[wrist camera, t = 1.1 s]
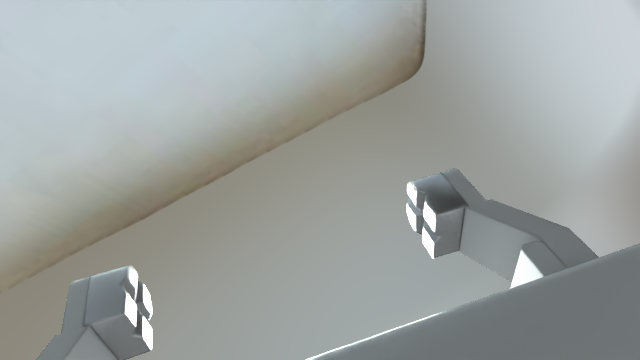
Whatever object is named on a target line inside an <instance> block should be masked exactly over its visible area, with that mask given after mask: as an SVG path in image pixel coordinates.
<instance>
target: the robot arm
mask: <svg viewBox="0 0 640 360" xmlns="http://www.w3.org/2000/svg"><path fill="white" fill-rule="evenodd" d="M407 193H408V194H409V196H410V197H411V198H410V199H409V200H408V202H407V213H408V217H409V220H410V223H411V225H412V227H413V228H414V230H415V231H416V232H417V233H419V234H422V235H423V244H424V245H425V247H426V248H427V250H428V251H429V253H430V254H431V256H432V257H433V258H436V257H439V256H442V255H445V254H449V253H452V252H456V251H459V250H460V252H461V253H463V254H464V255H466V256H468V257H469V258H471V259H473V260H474V261H476V262H478V263H479V264H481V265H483V266H485V267H486V268H488V269H490V270H491V271H493V272H495V273H497V274H498V275H500V276H502V277H503V278H505V279H507V280H509V281H510V282H512V285H511V288H510V289H507V290H505V291H502V292H499V293H496V294H493V295H490V296H487V297H484V298H481V299H479V300H476V301H473V302H470V303H467V304H464V305H461V306H458V307H456V308H453V309H450V310H447V311H444V312H441V313H438V314H435V315H433V316H430V317H427V318H424V319H421V320H418V321H415V322H412V323H410V324H407V325H404V326H401V327H398V328H395V329H392V330H390V331H387V332H384V333H381V334H378V335H375V336H372V337H370V338H367V339H364V340H361V341H358V342H355V343H353V344H350V345H347V346H344V347H341V348H339V349H335V350H333V351H329V352H327V353H324V354H321V355H318V356H315V357H312V358H309V359H307V360H640V244H637V245H634V246H631V247H628V248H625V249H622V250H619V251H617V252H614V253H611V254H608V255H605V256H602V257H598V256H597V255H596V254H595V253H594V252H593V251H592V250H591V249H590V248H589V247H588V246H587V245H586V244H585V243H583V241H582V240H581V239H579V238H578V237H577V236H576V235H575V234H574V233H573V232H572V231H571V230H570V229H569V228H567V227H564V226H561V225H559V224H556V223H553V222H551V221H548V220H545V219H543V218H539V217H537V216H534V215H532V214H529V213H526V212H524V211H521V210H518V209H515V208H513V207H510V206H508V205H505V204H502V203H499V202H497V201H494V200H487V201H486V199H485V198H484V197H483V196H482V195H481V194H480V193H479V192H478V191H477V190H476V189H475V187H474V186H473V185H472V184H471V183H470V182H469V181H468V180H467V179H466V177H465V176H464V175H463V174H462V173H461V172H460V171H459V170H458V169H456V168H452V169H449V170H446V171H443V172H440V173H437V174H433V175H430V176H427V177H423V178H420V179H417V180H414V181H410V182H409V183H408V185H407ZM151 316H152V306H151V301H150V296H149V293H148V291H147V289H146V287H145V285H144V284H143V283H141V282H138V281H137V272H136V271H135V270H134V268H133V267H132V266H125V267H122V268H118V269H115V270H111V271H107V272H104V273H100V274H96V275H93V276H90V277H87V278H83V279H79V280H76V281H73V282H72V284H71V285H70V286H69V291H68V297H67V302H66V308H65V313H64V319H63V324H62V330H61V334H59V335H56V336H54V338H53V339H52V340H51V341H50V343H49V344H48V345H47V346H46V348H45V349H44V350H43V351H42V353H41V354H40V355H39V356H38V358H37V359H36V360H126V359H129V358H132V357H135V356H138V355H140V354H143V353H146V352H149V351H151V350H152V329H151V327H150V326H149V324H148V323H147V322H148V320H149V319H150V317H151Z"/></svg>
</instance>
